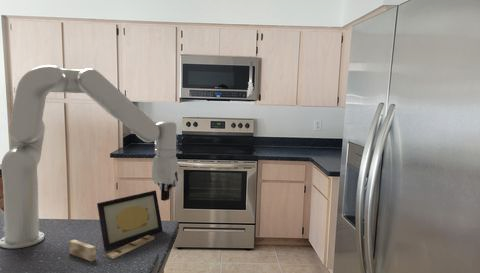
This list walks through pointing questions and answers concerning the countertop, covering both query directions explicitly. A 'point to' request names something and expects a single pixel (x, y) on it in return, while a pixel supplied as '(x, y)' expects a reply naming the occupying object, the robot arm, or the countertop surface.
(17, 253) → the countertop surface
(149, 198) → the picture frame
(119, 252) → the strip
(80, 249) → the block
